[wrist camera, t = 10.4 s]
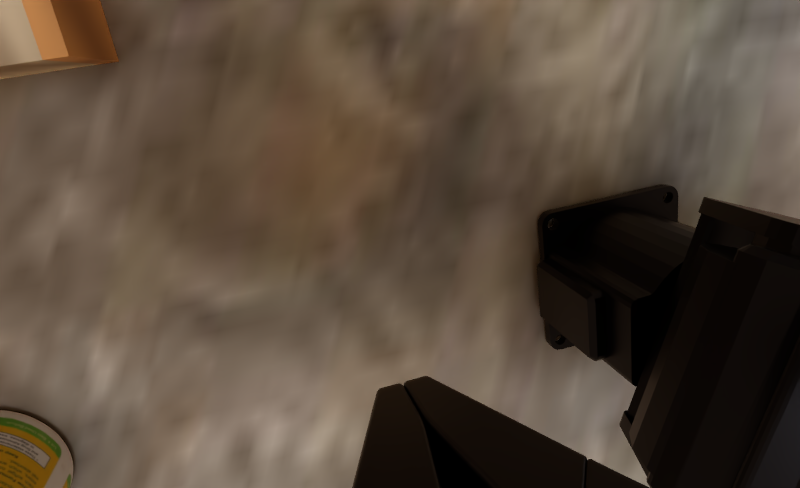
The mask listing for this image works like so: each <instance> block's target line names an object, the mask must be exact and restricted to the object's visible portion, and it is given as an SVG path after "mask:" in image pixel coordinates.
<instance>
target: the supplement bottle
mask: <svg viewBox="0 0 800 488" xmlns="http://www.w3.org/2000/svg"><path fill="white" fill-rule="evenodd" d="M72 479H73V460H72V456H71V454H70V451H69V449H68V447H67V445H66V444H65V442H64V441H63V440H62V438H61V437H60V436H59V435H58V434H57V433H56V432H55V431H54V430H52V429H51V428H50V427H48V426H47V425H46V424H44V423H42V422H40V421H38V420H37V419H34V418H32V417H30V416H27V415H24V414H21V413H17V412H12V411H5V410H0V488H70V487H71V483H72Z"/></svg>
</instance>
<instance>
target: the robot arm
mask: <svg viewBox="0 0 800 488" xmlns="http://www.w3.org/2000/svg"><path fill="white" fill-rule="evenodd" d="M665 193H667V196H666V198H665V200H663V196H664V194H665ZM699 213H701V216H700V219H699V221H698V224H697V227H696V228H693V227H690V226H687V225H684V224H682V223H679V222H678V193H677V190H676V189H675V188H674V187H672V186H668V185H659V186H654V187H650V188H645V189H641V190H637V191H632V192H628V193H623V194H619V195H615V196H610V197H606V198H602V199H597V200H593V201H588V202H584V203H580V204H575V205H571V206H566V207H562V208H558V209H553V210H549V211H546V212H544V213H543V214H542V215H541V216H540V217H539V219H538V235H539V249H540V261H539V263H538V265H537V275H538V288H539V301H540V314H541V317H542V318H543V319H545V330H546V340H547V342H548V343H549V344H550V345H551V346H552V347H553V348H554V349H557V350H558V349H564V348H567V347H571V346H576V347H577V348H578V349H580V350H581V351H582V352H583V353H584V354H585V355H587V356H588V357H589V358H591V359H592V360H594V361H598V360H601V359H603V360H604V361H605V362H606V363H607V364H609V365H610V366H611V367H612V368H613V369H615V370H616V371H617V372H618V373H619V374H621V375H622V376H623V377H624V378H625V379H627V380H628V381H629V382H630V383H632V384H633V385H634V386H637V387H636V390H635V393H634V395H633V398H632V401H631V403H630V406H629V409H628V411H624V413H623V416H622V419H621V421H620V427H621V429H622V431H623V432H624V434H625V436H626V438H627V440H628V442H629V444H630V446H631V447H632V449H633V451H634V453H635V455H636V457H637V459H638V461H639V462H640V464H641V466H642V468H643V470H644V472H645V474H646V476H647V483H648V484H649V486H650V488H800V219H797V218H792V217H788V216H784V215H780V214H775V213H771V212H767V211H762V210H758V209H754V208H750V207H745V206H741V205H737V204H733V203H728V202H724V201H720V200H715V199H711V198H707V197H704V198H703V201H702V204H701V206H700V209H699ZM551 219H554V224H553V225H552V226H551V227H549V228H548V222H549V221H550V220H551ZM558 335H561V337H560V339H559V340H557V341H555V340H556V337H557V336H558ZM352 488H649V487H647V486H645V485H643V484H641V483H639V482H637V481H634V480H632V479H630V478H628V477H626V476H624V475H622V474H620V473H618V472H616V471H614V470H612V469H610V468H608V467H606V466H604V465H602V464H600V463H598V462H596V461H594V460H592V459H588V460H587V458H586V457H585V456H584V455H582V454H580V453H578V452H576V451H574V450H572V449H570V448H568V447H566V446H564V445H562V444H560V443H558V442H556V441H554V440H552V439H550V438H548V437H546V436H544V435H542V434H540V433H538V432H537V431H535V430H533V429H531V428H529V427H527V426H525V425H523V424H521V423H519V422H517V421H515V420H513V419H511V418H509V417H507V416H505V415H503V414H501V413H499V412H497V411H495V410H493V409H491V408H489V407H487V406H485V405H484V404H482V403H480V402H478V401H476V400H474V399H472V398H470V397H468V396H466V395H464V394H462V393H460V392H458V391H456V390H454V389H452V388H450V387H448V386H446V385H444V384H442V383H440V382H438V381H436V380H434V379H432V378H431V377H428V376H423V377H420V378H416V379H413V380H409V381H406V382H405V383H404V386H403V385H402V384H395V385H391V386H387V387H384V388H380V389H379V390H378V391H377V394H376V398H375V402H374V405H373V409H372V413H371V417H370V421H369V425H368V429H367V433H366V436H365V440H364V444H363V448H362V452H361V456H360V460H359V463H358V467H357V471H356V475H355V479H354V483H353V487H352Z"/></svg>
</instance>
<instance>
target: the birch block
mask: <svg viewBox="0 0 800 488" xmlns="http://www.w3.org/2000/svg"><path fill="white" fill-rule="evenodd" d="M112 62H119V60H118V57H117V54H116V50H115V47H114V44H113V41H112V37H111V34H110V31H109V28H108V24H107V21H106V18H105V15H104V12H103V8H102V5H101V2H100V0H0V79H7V78H13V77H20V76H26V75H33V74H40V73H46V72H53V71H59V70H66V69H73V68H79V67H86V66H92V65H99V64H105V63H112Z"/></svg>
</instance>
